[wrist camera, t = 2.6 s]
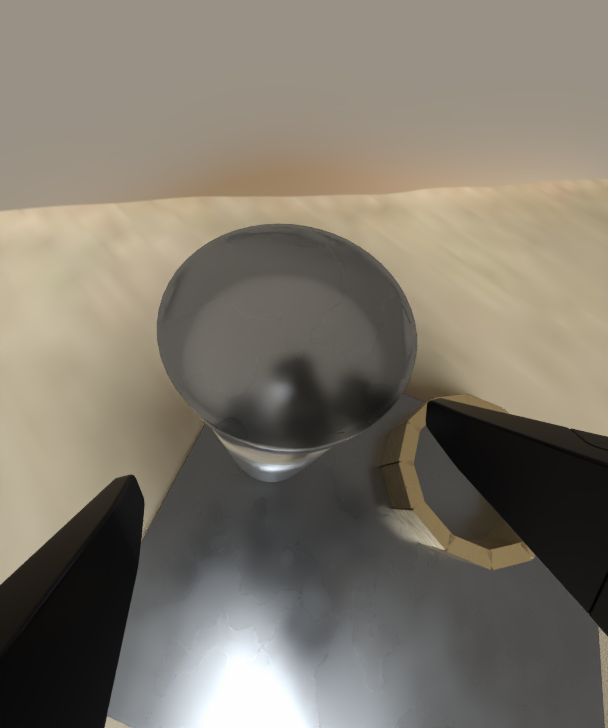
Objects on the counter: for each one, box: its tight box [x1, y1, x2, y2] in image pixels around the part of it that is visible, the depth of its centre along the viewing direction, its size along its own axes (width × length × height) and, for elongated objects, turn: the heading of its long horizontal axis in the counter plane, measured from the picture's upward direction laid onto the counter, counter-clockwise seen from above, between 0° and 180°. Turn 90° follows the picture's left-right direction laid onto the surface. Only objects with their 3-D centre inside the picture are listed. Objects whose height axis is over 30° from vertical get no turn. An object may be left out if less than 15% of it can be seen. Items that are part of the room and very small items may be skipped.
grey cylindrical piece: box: [157, 224, 417, 482], centre depth 12 cm, size 5×5×13 cm
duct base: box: [107, 393, 605, 728], centre depth 15 cm, size 19×24×3 cm
